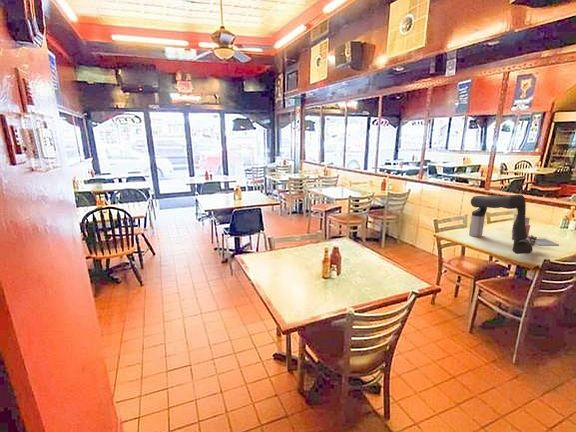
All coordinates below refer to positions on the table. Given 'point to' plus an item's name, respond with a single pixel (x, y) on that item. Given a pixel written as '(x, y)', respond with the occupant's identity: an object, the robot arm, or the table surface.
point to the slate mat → (544, 242)
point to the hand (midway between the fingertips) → (524, 235)
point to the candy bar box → (525, 220)
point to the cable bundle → (527, 228)
